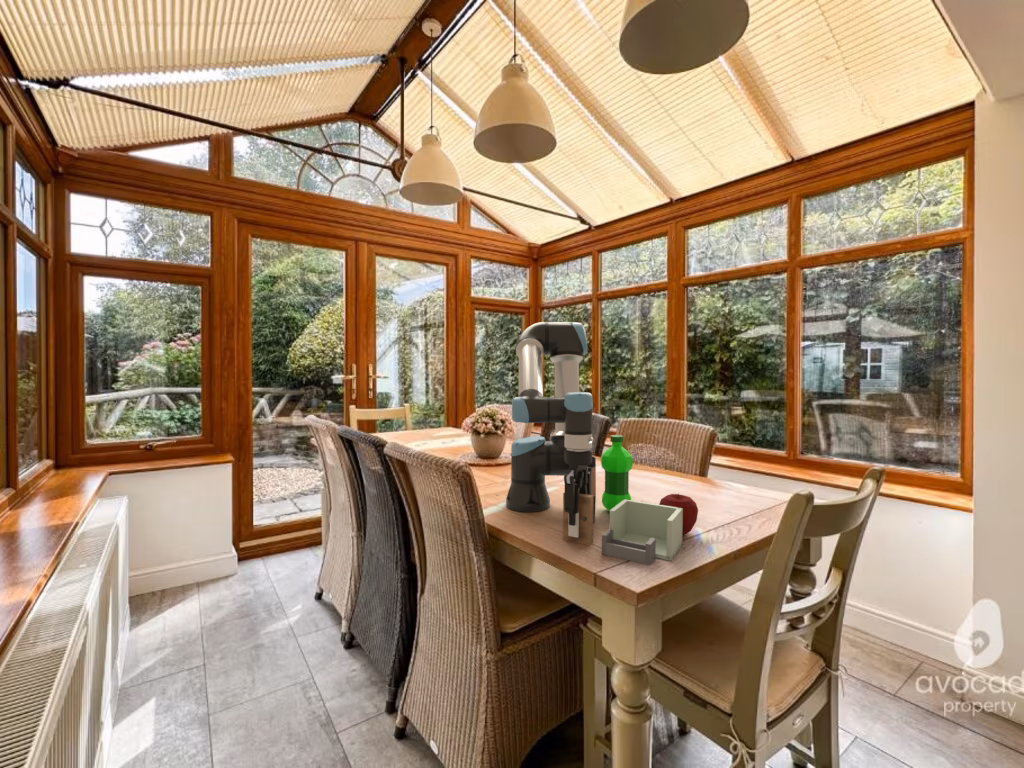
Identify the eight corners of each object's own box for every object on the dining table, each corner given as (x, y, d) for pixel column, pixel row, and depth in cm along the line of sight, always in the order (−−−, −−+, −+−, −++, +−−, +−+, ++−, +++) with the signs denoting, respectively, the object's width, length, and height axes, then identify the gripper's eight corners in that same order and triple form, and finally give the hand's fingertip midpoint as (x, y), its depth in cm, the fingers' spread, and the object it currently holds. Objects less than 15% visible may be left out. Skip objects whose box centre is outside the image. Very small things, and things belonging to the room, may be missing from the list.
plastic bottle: (613, 517, 148) (614, 439, 147) (594, 508, 158) (594, 434, 157) (638, 513, 152) (639, 437, 151) (619, 504, 162) (619, 432, 161)
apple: (653, 527, 140) (653, 488, 139) (689, 527, 140) (690, 488, 139) (664, 540, 129) (664, 498, 128) (703, 541, 129) (704, 499, 128)
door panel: (562, 540, 130) (562, 493, 129) (566, 537, 132) (566, 491, 131) (589, 546, 125) (589, 498, 125) (593, 542, 128) (593, 495, 127)
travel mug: (580, 528, 139) (580, 461, 138) (565, 520, 146) (565, 456, 145) (600, 524, 143) (601, 458, 142) (585, 516, 149) (585, 454, 149)
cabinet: (601, 554, 120) (601, 515, 120) (623, 533, 134) (623, 499, 134) (666, 568, 111) (666, 527, 111) (682, 545, 126) (682, 508, 125)
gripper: (577, 455, 118) (576, 546, 119) (603, 445, 134) (603, 525, 135) (550, 452, 122) (550, 540, 123) (579, 442, 138) (579, 521, 139)
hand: (578, 532), depth 129 cm, fingers open, 5 cm apart
